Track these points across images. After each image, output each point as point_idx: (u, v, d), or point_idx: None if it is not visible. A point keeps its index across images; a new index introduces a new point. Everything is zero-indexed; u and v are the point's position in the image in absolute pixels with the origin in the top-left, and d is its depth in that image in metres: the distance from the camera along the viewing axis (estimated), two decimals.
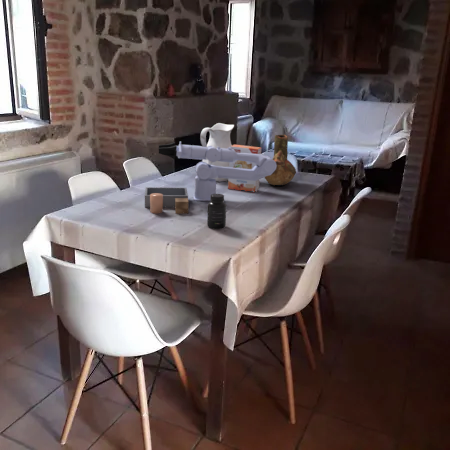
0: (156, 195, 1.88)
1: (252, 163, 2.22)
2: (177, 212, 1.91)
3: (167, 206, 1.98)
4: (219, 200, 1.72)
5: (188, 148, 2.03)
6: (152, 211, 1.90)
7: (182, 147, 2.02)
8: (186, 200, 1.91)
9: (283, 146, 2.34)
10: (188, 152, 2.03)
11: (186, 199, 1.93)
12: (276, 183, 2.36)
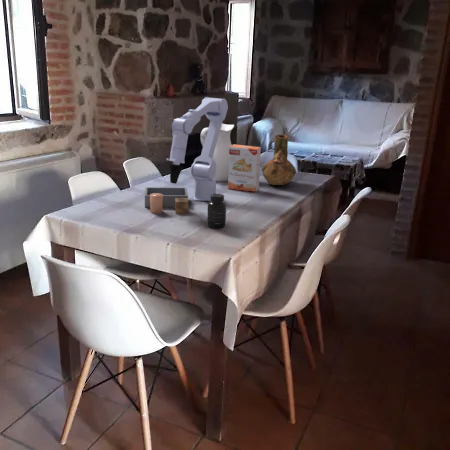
0: (156, 195, 1.88)
1: (252, 163, 2.21)
2: (177, 212, 1.91)
3: (167, 206, 1.98)
4: (219, 200, 1.72)
5: (173, 151, 1.87)
6: (152, 211, 1.90)
7: (172, 157, 1.88)
8: (186, 200, 1.91)
9: (283, 146, 2.34)
10: (178, 151, 1.87)
11: (186, 199, 1.93)
12: (276, 183, 2.36)
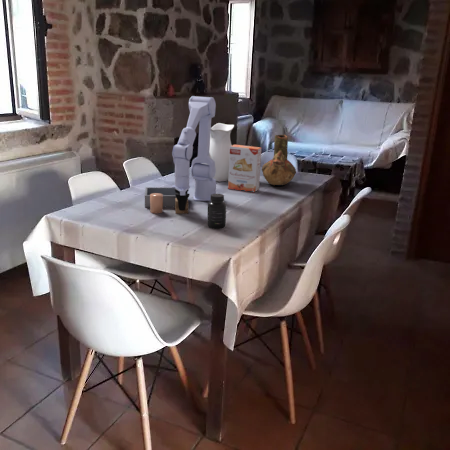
0: (156, 195, 1.88)
1: (252, 163, 2.22)
2: (177, 212, 1.90)
3: (167, 206, 1.98)
4: (219, 200, 1.72)
5: (177, 179, 1.87)
6: (152, 211, 1.90)
7: (176, 185, 1.88)
8: None
9: (283, 146, 2.34)
10: (181, 179, 1.86)
11: None
12: (276, 183, 2.36)
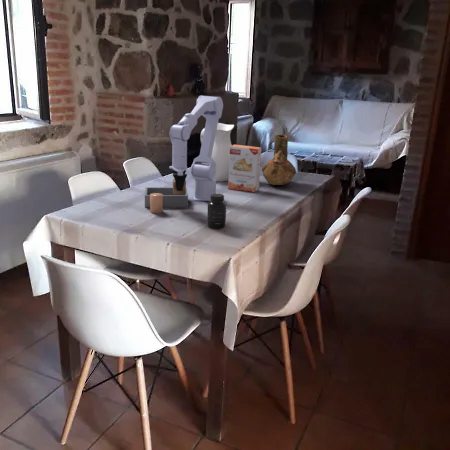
0: (156, 195, 1.88)
1: (252, 163, 2.22)
2: (175, 192, 1.92)
3: (167, 206, 1.98)
4: (219, 200, 1.72)
5: (175, 159, 1.88)
6: (152, 211, 1.90)
7: (174, 166, 1.89)
8: None
9: (283, 146, 2.34)
10: (179, 159, 1.88)
11: None
12: (276, 183, 2.36)
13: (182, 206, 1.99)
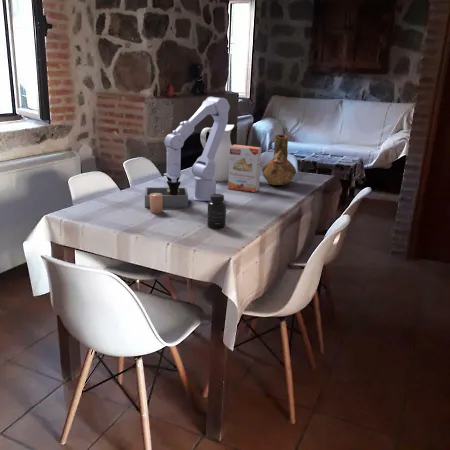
0: (156, 195, 1.88)
1: (252, 163, 2.22)
2: None
3: (167, 206, 1.98)
4: (219, 200, 1.72)
5: (169, 167, 1.97)
6: (152, 211, 1.90)
7: (168, 173, 1.98)
8: None
9: (283, 146, 2.34)
10: (173, 167, 1.97)
11: None
12: (276, 183, 2.36)
13: (182, 206, 1.99)
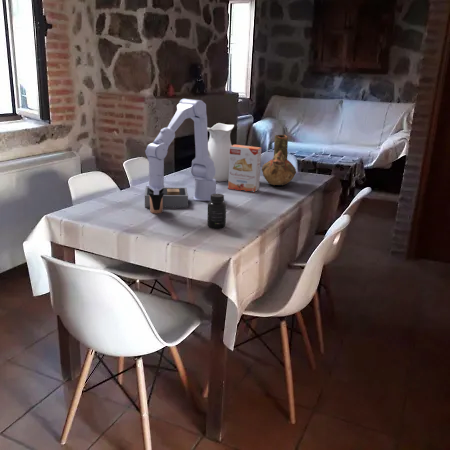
0: None
1: (252, 163, 2.22)
2: None
3: (167, 206, 1.98)
4: (219, 200, 1.72)
5: (151, 178, 1.85)
6: (152, 211, 1.90)
7: (150, 185, 1.86)
8: (177, 190, 2.02)
9: (283, 146, 2.34)
10: (155, 178, 1.85)
11: (177, 189, 2.04)
12: (276, 183, 2.36)
13: (182, 206, 1.99)
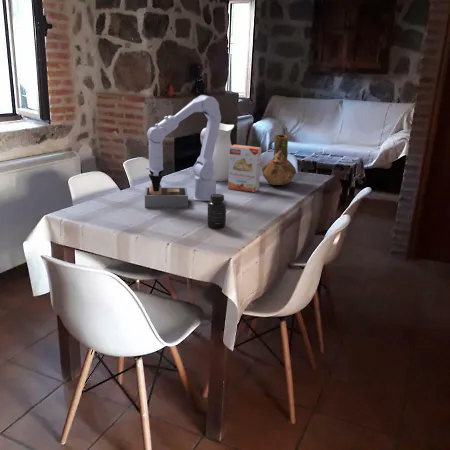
0: None
1: (252, 163, 2.22)
2: None
3: (167, 206, 1.98)
4: (219, 200, 1.72)
5: (151, 160, 1.96)
6: None
7: (150, 166, 1.97)
8: (177, 190, 2.02)
9: (283, 146, 2.34)
10: (155, 160, 1.96)
11: (177, 189, 2.04)
12: (276, 183, 2.36)
13: (182, 206, 1.99)
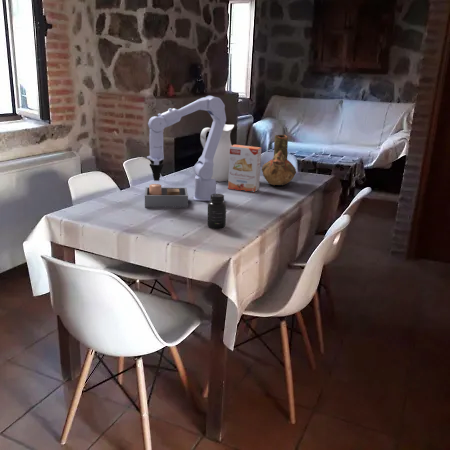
0: (155, 186, 2.00)
1: (252, 163, 2.22)
2: None
3: (167, 206, 1.98)
4: (219, 200, 1.72)
5: (152, 150, 1.97)
6: None
7: (151, 156, 1.98)
8: (177, 190, 2.02)
9: (283, 146, 2.34)
10: (156, 150, 1.97)
11: (177, 189, 2.04)
12: (276, 183, 2.36)
13: (182, 206, 1.99)
